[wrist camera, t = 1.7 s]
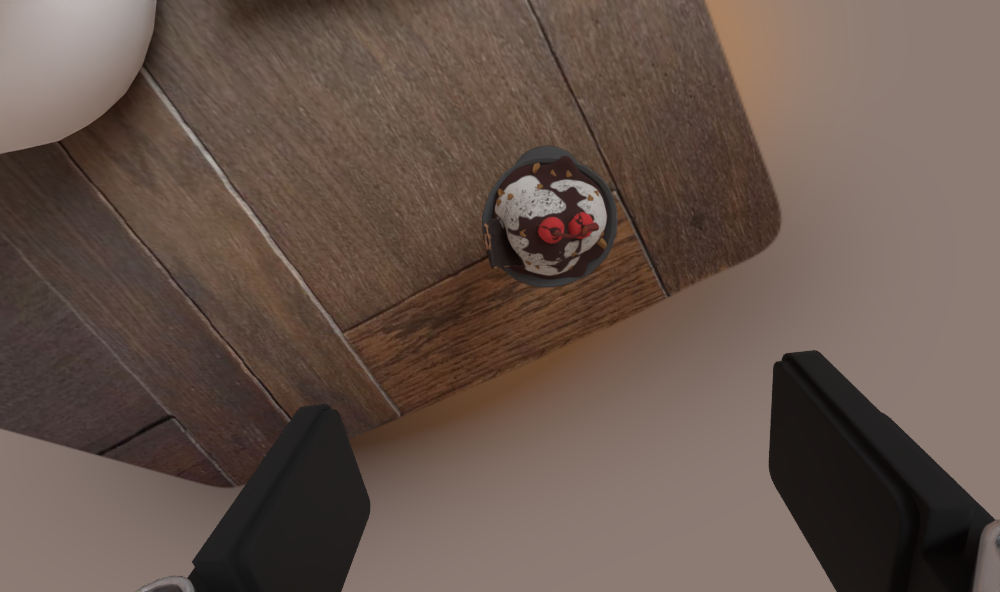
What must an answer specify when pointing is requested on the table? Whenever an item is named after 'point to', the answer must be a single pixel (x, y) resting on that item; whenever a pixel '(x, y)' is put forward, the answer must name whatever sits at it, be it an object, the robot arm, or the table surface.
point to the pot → (66, 64)
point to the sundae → (549, 219)
